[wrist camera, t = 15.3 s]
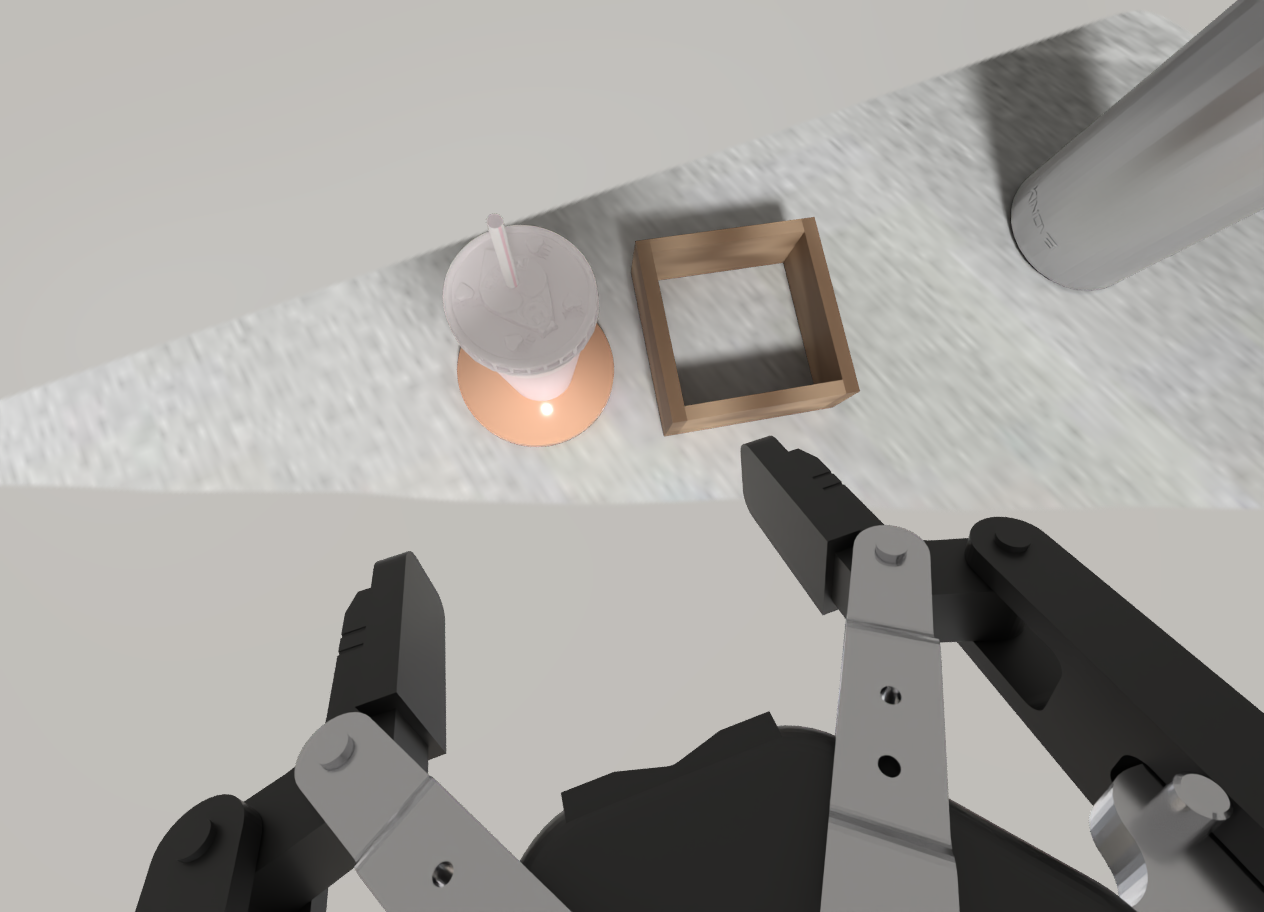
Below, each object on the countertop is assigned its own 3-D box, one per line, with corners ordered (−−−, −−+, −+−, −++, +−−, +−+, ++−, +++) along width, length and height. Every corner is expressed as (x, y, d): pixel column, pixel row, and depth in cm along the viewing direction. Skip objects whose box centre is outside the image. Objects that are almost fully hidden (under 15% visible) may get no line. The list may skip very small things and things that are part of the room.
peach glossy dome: (599, 291, 34) (599, 285, 33) (625, 432, 32) (626, 429, 32) (450, 312, 33) (447, 307, 32) (472, 459, 32) (469, 456, 31)
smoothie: (552, 297, 33) (525, 114, 19) (618, 380, 32) (640, 253, 18) (462, 359, 32) (365, 213, 18) (529, 446, 31) (482, 364, 17)
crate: (792, 249, 35) (814, 217, 32) (832, 407, 34) (860, 391, 30) (631, 271, 34) (635, 240, 31) (664, 436, 33) (672, 423, 29)
